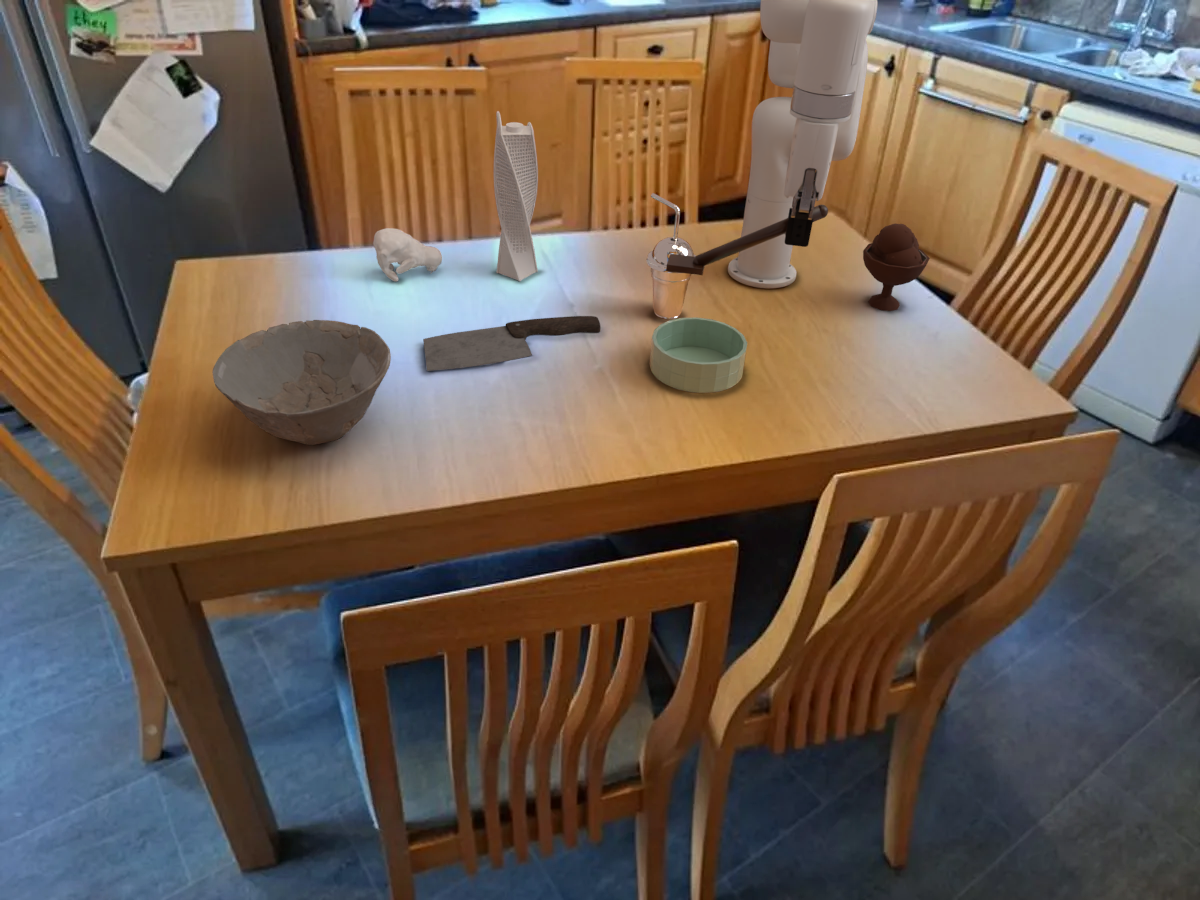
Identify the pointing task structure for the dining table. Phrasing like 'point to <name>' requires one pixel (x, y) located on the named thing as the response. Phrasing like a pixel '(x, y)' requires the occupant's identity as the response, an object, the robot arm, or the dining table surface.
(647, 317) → the dining table surface
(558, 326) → the cleaver
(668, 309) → the cup with straw
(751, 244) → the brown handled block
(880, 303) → the ice cream bowl
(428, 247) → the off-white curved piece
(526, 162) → the skyscraper
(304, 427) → the ceramic bowl
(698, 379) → the bowl
